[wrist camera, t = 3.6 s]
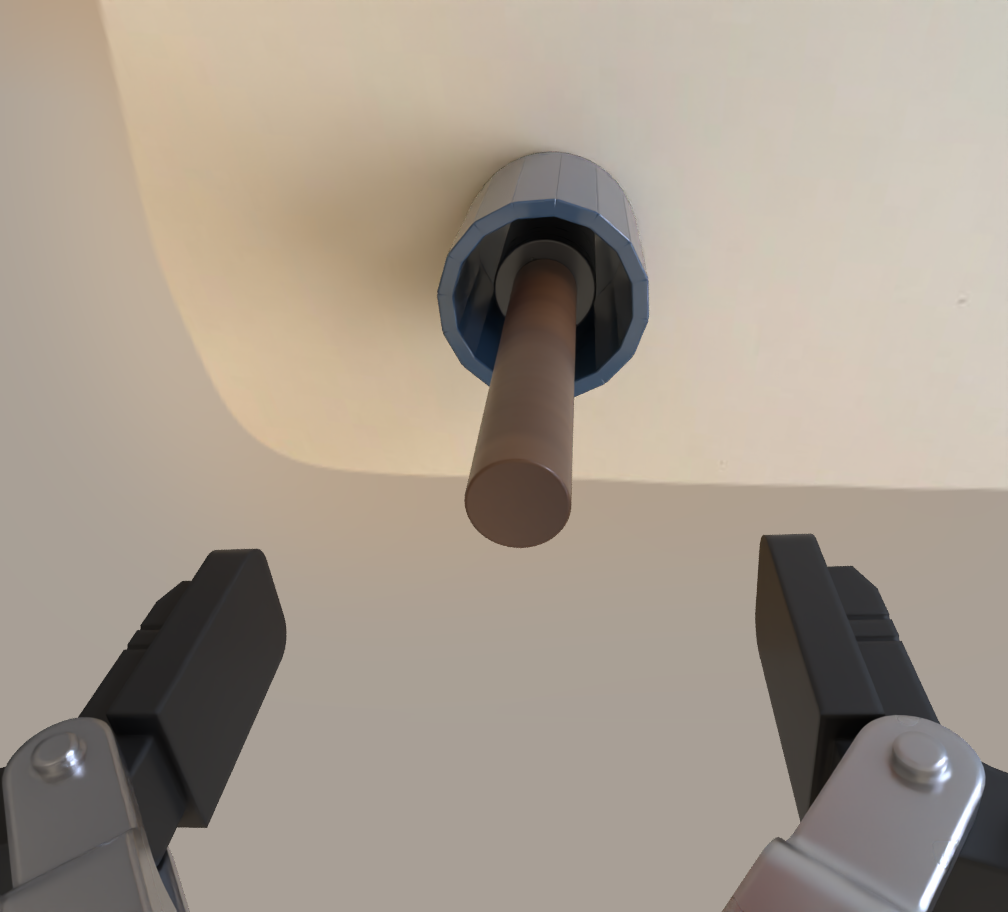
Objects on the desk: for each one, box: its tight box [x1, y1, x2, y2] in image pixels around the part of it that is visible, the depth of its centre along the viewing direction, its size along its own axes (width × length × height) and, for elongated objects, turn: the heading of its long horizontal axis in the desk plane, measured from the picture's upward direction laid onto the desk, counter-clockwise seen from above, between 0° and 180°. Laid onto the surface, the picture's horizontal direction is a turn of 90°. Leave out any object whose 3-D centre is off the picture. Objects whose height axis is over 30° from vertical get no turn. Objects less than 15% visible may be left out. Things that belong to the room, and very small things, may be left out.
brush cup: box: [437, 152, 649, 397], centre depth 27 cm, size 6×6×7 cm
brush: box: [465, 217, 596, 548], centre depth 23 cm, size 3×3×17 cm
